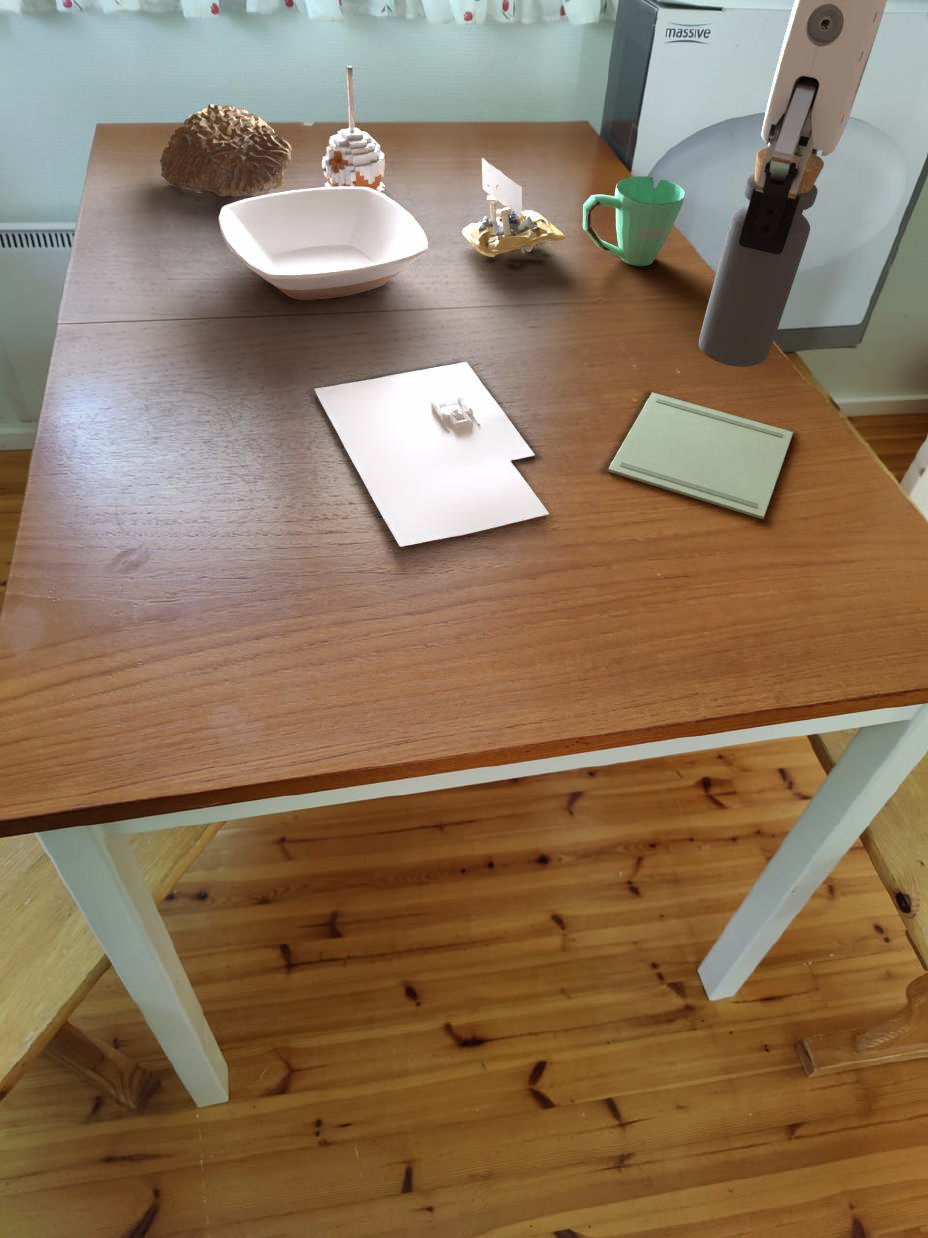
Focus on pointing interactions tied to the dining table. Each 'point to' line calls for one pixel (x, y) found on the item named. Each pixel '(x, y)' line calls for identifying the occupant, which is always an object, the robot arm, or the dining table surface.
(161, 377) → the dining table surface
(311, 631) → the dining table surface
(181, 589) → the dining table surface
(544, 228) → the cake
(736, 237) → the bottle
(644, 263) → the mug
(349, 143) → the decorative ornament
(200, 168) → the coral
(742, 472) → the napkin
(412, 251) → the bowl
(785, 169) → the robot arm
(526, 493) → the paper
